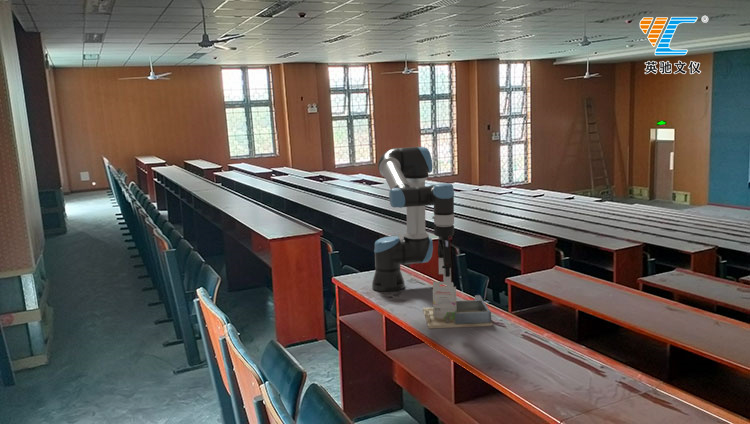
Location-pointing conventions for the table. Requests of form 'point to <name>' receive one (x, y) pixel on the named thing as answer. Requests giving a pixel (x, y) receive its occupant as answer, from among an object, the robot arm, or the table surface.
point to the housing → (472, 316)
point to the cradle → (448, 320)
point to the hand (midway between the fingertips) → (444, 279)
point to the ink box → (444, 300)
